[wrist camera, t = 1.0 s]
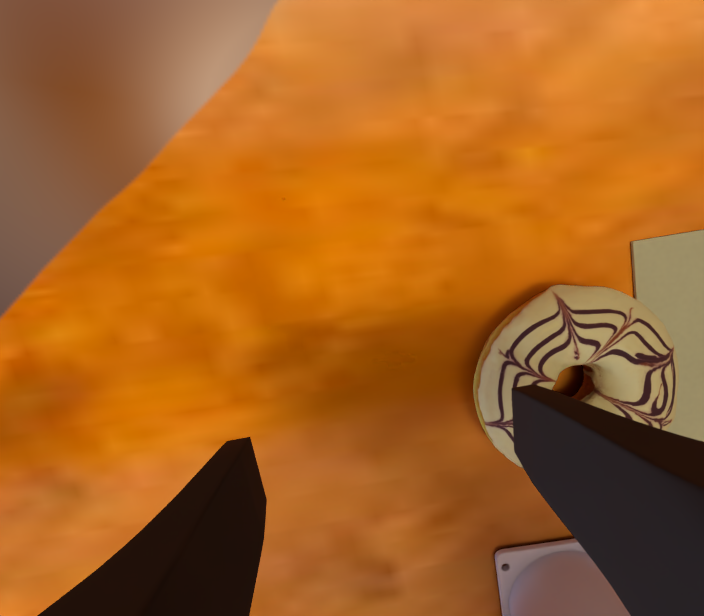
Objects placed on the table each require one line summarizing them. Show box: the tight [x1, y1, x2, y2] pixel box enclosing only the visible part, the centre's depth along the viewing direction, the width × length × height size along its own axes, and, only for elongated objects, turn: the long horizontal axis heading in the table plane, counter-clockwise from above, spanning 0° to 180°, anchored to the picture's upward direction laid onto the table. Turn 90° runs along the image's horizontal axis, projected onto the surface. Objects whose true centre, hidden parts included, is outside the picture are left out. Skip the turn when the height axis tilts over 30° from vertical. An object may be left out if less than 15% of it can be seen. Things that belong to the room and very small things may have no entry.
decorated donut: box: [473, 285, 679, 469], centre depth 21 cm, size 10×11×4 cm
